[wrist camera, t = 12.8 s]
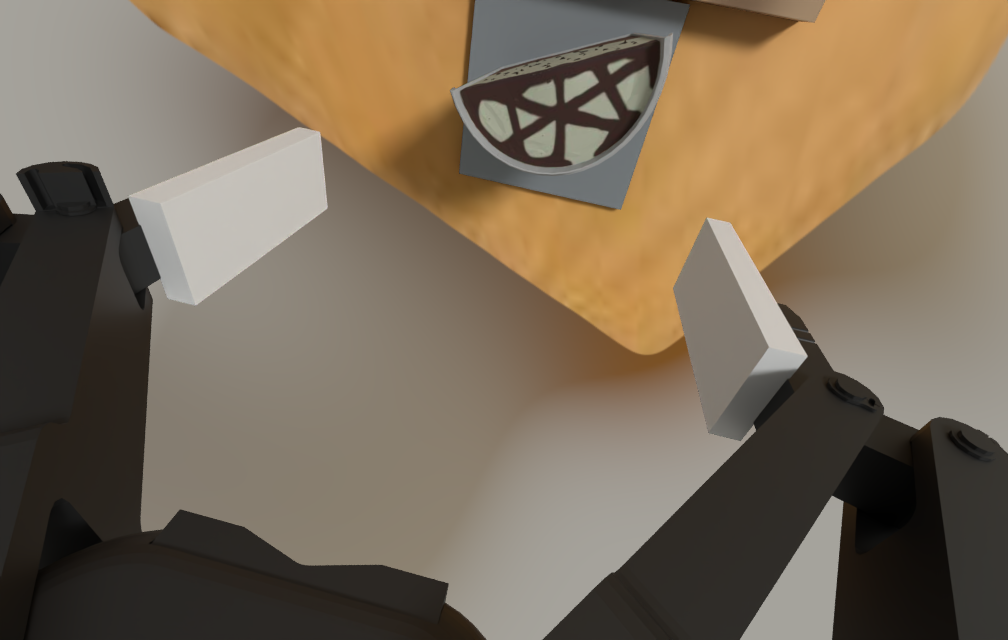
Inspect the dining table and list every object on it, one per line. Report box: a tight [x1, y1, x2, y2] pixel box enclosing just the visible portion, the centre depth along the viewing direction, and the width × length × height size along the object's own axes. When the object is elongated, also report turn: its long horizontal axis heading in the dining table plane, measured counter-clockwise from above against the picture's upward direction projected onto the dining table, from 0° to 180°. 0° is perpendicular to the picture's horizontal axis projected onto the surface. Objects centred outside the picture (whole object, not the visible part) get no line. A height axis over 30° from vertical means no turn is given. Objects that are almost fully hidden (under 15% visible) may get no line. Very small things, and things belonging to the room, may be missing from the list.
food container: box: [450, 33, 673, 176], centre depth 28 cm, size 12×6×10 cm, turn 103°
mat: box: [459, 0, 690, 210], centre depth 33 cm, size 14×14×1 cm
